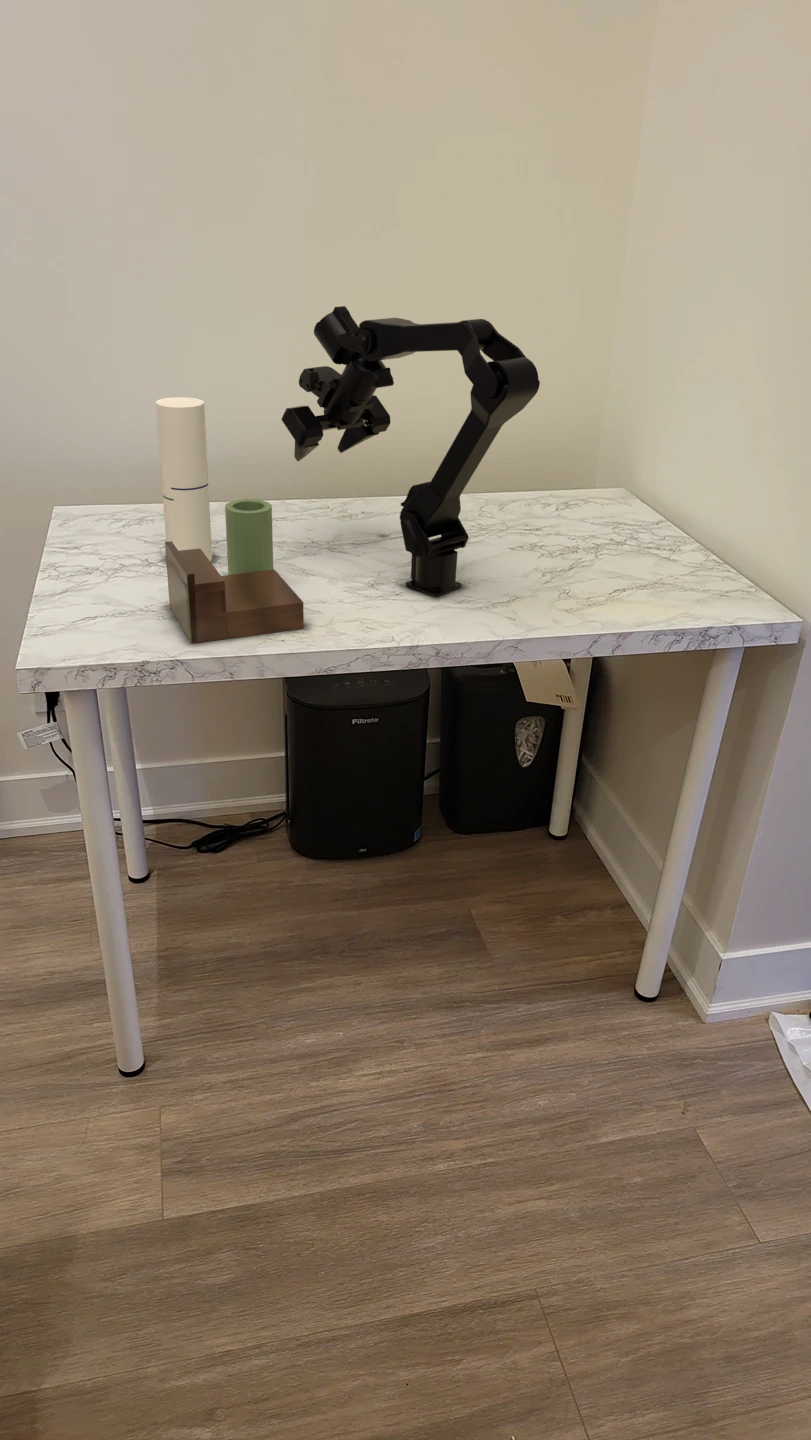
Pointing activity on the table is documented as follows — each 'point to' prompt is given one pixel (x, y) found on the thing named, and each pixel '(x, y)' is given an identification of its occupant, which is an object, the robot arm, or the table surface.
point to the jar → (249, 536)
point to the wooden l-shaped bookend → (227, 599)
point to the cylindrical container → (184, 473)
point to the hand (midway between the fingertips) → (318, 454)
